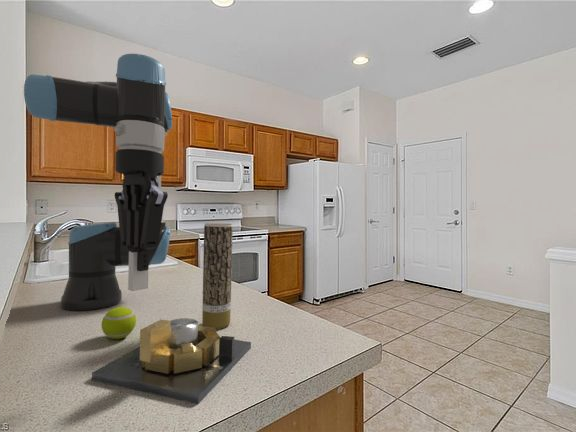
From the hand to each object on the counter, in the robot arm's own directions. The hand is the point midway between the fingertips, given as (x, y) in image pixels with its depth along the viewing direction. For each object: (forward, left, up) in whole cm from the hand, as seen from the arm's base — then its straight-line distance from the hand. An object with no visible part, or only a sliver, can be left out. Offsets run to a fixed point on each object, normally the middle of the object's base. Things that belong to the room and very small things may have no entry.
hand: (138, 288), depth 55 cm
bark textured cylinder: (+2, +25, -15) cm, 29 cm away
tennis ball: (-14, +11, -15) cm, 24 cm away
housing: (+5, +6, -15) cm, 17 cm away
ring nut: (+5, +5, -13) cm, 15 cm away
